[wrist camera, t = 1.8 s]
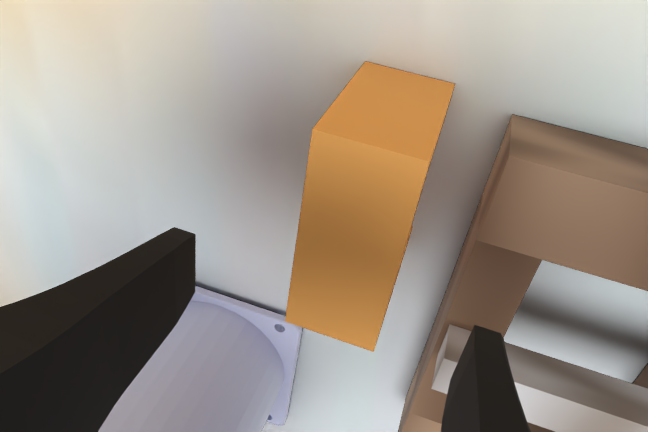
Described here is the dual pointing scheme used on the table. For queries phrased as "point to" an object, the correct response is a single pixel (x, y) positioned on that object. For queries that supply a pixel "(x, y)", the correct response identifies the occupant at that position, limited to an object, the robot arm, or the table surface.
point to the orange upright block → (363, 200)
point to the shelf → (522, 263)
